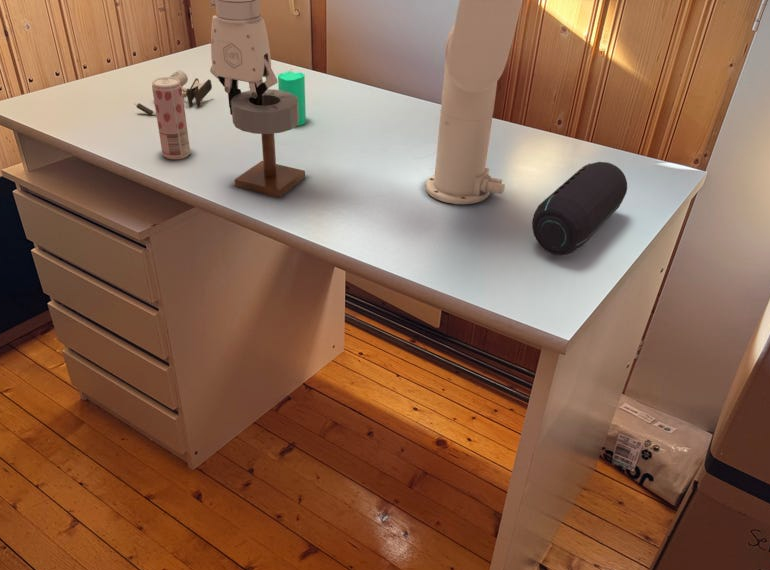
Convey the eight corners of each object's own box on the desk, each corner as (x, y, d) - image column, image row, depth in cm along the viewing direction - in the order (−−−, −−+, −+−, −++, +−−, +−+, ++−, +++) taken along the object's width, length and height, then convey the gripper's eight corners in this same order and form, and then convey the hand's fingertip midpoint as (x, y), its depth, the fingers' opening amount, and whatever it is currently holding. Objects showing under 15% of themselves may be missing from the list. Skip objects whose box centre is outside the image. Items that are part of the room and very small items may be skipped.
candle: (311, 121, 165) (310, 68, 158) (292, 128, 162) (290, 74, 154) (293, 114, 168) (292, 62, 161) (274, 121, 165) (271, 67, 157)
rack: (305, 177, 142) (303, 110, 133) (279, 197, 135) (276, 127, 126) (262, 167, 145) (257, 101, 137) (235, 186, 138) (228, 117, 129)
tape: (309, 117, 135) (309, 96, 132) (277, 138, 126) (276, 116, 124) (255, 106, 139) (254, 85, 136) (220, 126, 130) (218, 104, 127)
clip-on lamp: (170, 133, 165) (216, 94, 175) (164, 108, 160) (212, 70, 169) (131, 118, 169) (179, 81, 178) (123, 93, 163) (173, 57, 173)
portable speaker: (574, 199, 138) (586, 149, 132) (624, 213, 134) (639, 163, 127) (518, 251, 122) (528, 197, 115) (573, 270, 118) (587, 215, 111)
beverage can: (180, 146, 152) (169, 74, 142) (196, 154, 149) (186, 81, 139) (157, 154, 149) (145, 80, 139) (173, 162, 146) (161, 88, 136)
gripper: (184, 7, 122) (197, 113, 133) (268, 20, 117) (274, 130, 128) (210, -2, 127) (220, 101, 139) (291, 10, 122) (295, 116, 134)
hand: (246, 114), depth 133 cm, fingers closed on tape, 3 cm apart
